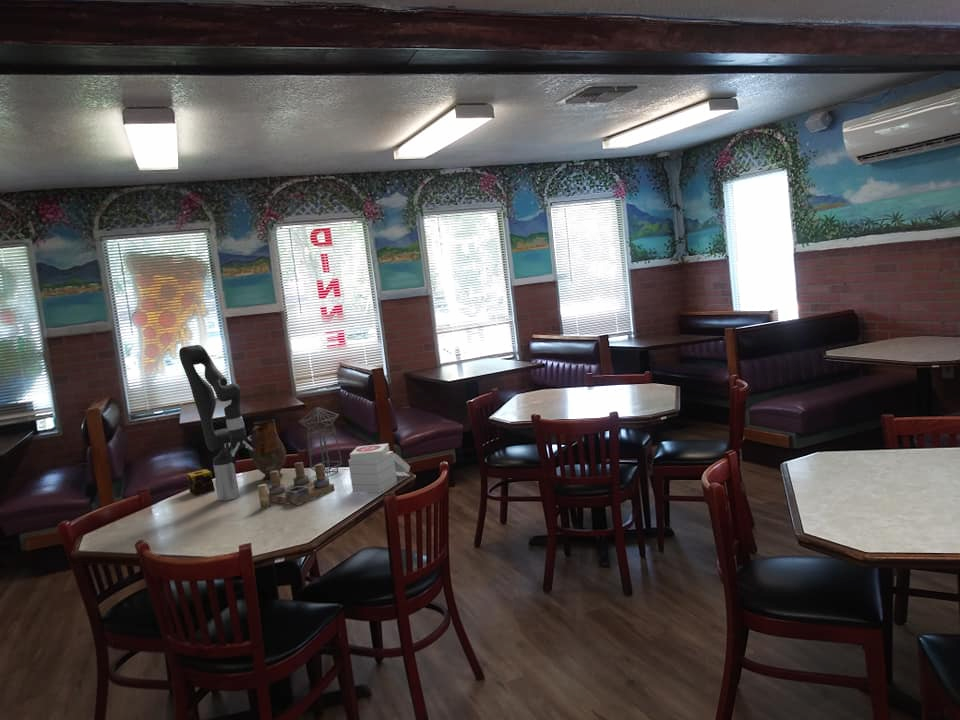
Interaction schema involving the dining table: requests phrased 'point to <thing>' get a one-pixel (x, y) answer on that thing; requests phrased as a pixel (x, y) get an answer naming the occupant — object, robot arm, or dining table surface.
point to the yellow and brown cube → (200, 482)
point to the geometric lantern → (322, 436)
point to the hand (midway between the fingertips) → (243, 461)
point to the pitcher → (268, 448)
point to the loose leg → (263, 496)
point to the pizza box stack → (374, 468)
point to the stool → (299, 486)
